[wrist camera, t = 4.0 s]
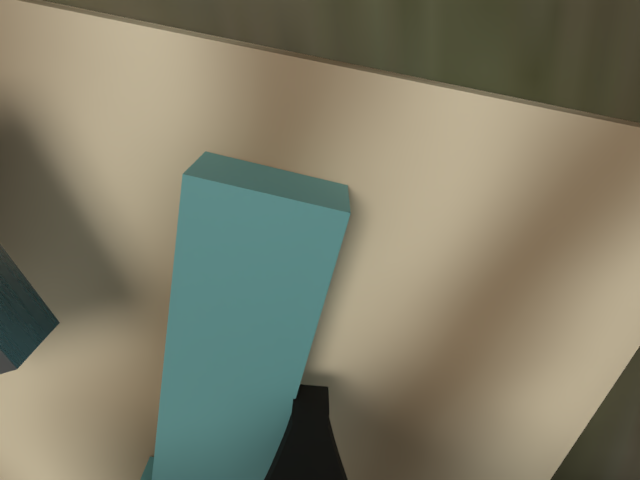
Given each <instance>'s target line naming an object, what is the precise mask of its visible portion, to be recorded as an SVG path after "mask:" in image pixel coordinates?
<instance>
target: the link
mask: <svg viewBox="0 0 640 480" xmlns="http://www.w3.org/2000/svg"><path fill="white" fill-rule="evenodd" d="M350 214H351V211H350V201H349V192H348V185H345V184H340V183H336V182H332V181H328V180H324V179H319V178H315V177H311V176H307V175H303V174H298V173H294V172H290V171H286V170H282V169H277V168H273V167H269V166H265V165H261V164H256V163H252V162H248V161H244V160H240V159H235V158H231V157H227V156H223V155H219V154H214V153H210V152H206V151H205V152H204V153H203V154H202V155H201V156H200V157H199V158H198V159H197V160H196V161H195V162H194V163H193V164H192V165H191V166H190V167H189V168H188V169H187V170H186V171H185V172H184V173H183V174H182V184H181V194H180V204H179V214H178V224H177V234H176V244H175V254H174V264H173V274H172V284H171V294H170V304H169V314H168V324H167V334H166V343H165V353H164V363H163V373H162V383H161V393H160V403H159V413H158V423H157V433H156V443H155V453H154V457H149V460H148V462H147V464H146V467H145V469H144V472H143V474H142V476H141V479H140V480H264V479H265V477H266V475H267V472H268V470H269V468H270V466H271V464H272V461H273V459H274V457H275V454H276V452H277V450H278V447H279V445H280V443H281V440H282V438H283V435H284V433H285V430H286V427H287V424H288V422H289V419H290V416H291V413H292V404H293V399H296V396H297V393H298V389H299V386H300V382H301V379H302V376H303V372H304V369H305V366H306V362H307V359H308V356H309V352H310V349H311V345H312V342H313V339H314V335H315V332H316V329H317V325H318V322H319V318H320V315H321V312H322V308H323V305H324V302H325V298H326V295H327V292H328V288H329V285H330V281H331V278H332V275H333V271H334V268H335V265H336V261H337V258H338V254H339V251H340V248H341V244H342V241H343V238H344V234H345V231H346V228H347V224H348V221H349V217H350Z"/></svg>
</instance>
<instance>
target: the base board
mask: <svg viewBox="0 0 640 480" xmlns="http://www.w3.org/2000/svg"><path fill="white" fill-rule="evenodd" d="M205 151H206V152H210V153H214V154H219V155H223V156H227V157H231V158H235V159H240V160H244V161H248V162H252V163H256V164H261V165H265V166H269V167H273V168H277V169H282V170H286V171H290V172H294V173H298V174H303V175H307V176H311V177H315V178H319V179H324V180H328V181H332V182H336V183H340V184H345V185H348V192H349V201H350V211H351V214H350V217H349V221H348V224H347V228H346V231H345V234H344V238H343V241H342V244H341V248H340V251H339V254H338V258H337V261H336V265H335V268H334V271H333V275H332V278H331V281H330V285H329V288H328V292H327V295H326V298H325V302H324V305H323V308H322V312H321V315H320V318H319V322H318V325H317V329H316V332H315V335H314V339H313V342H312V345H311V349H310V352H309V356H308V359H307V362H306V366H305V369H304V372H303V376H302V379H301V382H300V384H303V385H315V386H326V387H328V390H329V418H330V422H331V426H332V430H333V434H334V438H335V442H336V445H337V448H338V452H339V455H340V458H341V461H342V464H343V467H344V470H345V473H346V476H347V479H348V480H550V479H551V478H552V476H553V475H554V473H555V472H556V470H557V469H558V467H559V466H560V464H561V463H562V461H563V460H564V458H565V457H566V455H567V454H568V452H569V451H570V449H571V448H572V446H573V445H574V443H575V442H576V440H577V439H578V437H579V436H580V434H581V433H582V431H583V430H584V428H585V427H586V425H587V424H588V422H589V421H590V419H591V418H592V416H593V415H594V413H595V412H596V410H597V409H598V407H599V406H600V404H601V403H602V401H603V400H604V398H605V397H606V395H607V394H608V392H609V391H610V389H611V388H612V387H613V385H614V384H615V382H616V381H617V379H618V378H619V376H620V375H621V373H622V372H623V370H624V369H625V367H626V366H627V364H628V363H629V361H630V360H631V358H632V357H633V355H634V354H635V352H636V351H637V349H638V348H639V346H640V123H637V122H632V121H627V120H623V119H618V118H613V117H608V116H603V115H598V114H593V113H589V112H584V111H579V110H574V109H569V108H564V107H559V106H554V105H550V104H545V103H540V102H535V101H530V100H525V99H520V98H515V97H511V96H506V95H501V94H496V93H491V92H486V91H481V90H476V89H472V88H467V87H462V86H457V85H452V84H447V83H442V82H437V81H433V80H428V79H423V78H418V77H413V76H408V75H403V74H398V73H394V72H389V71H384V70H379V69H374V68H369V67H364V66H359V65H355V64H350V63H345V62H340V61H335V60H330V59H325V58H320V57H316V56H311V55H306V54H301V53H296V52H291V51H286V50H281V49H277V48H272V47H267V46H262V45H257V44H252V43H247V42H242V41H238V40H233V39H228V38H223V37H218V36H213V35H208V34H203V33H199V32H194V31H189V30H184V29H179V28H174V27H169V26H164V25H160V24H155V23H150V22H145V21H140V20H135V19H130V18H125V17H121V16H116V15H111V14H106V13H101V12H96V11H91V10H87V9H82V8H77V7H72V6H67V5H62V4H57V3H52V2H48V1H43V0H0V244H1V246H2V247H3V248H4V250H5V251H6V252H7V254H8V255H9V256H10V257H11V259H12V260H13V261H14V263H15V264H16V265H17V267H18V268H19V269H20V271H21V272H22V273H23V275H24V276H25V277H26V279H27V280H28V281H29V283H30V284H31V285H32V286H33V288H34V289H35V290H36V292H37V293H38V294H39V296H40V297H41V298H42V300H43V301H44V302H45V304H46V305H47V306H48V308H49V309H50V310H51V312H52V313H53V314H54V316H55V317H56V318H57V319H58V321H59V322H60V323H59V324H58V325H57V326H56V327H55V329H54V330H53V331H52V332H51V333H50V334H49V335H48V336H47V337H46V338H45V339H44V341H43V342H42V343H41V344H40V345H39V346H38V347H37V348H36V349H35V350H34V351H33V353H32V354H31V355H30V356H29V357H28V358H27V359H26V360H25V361H24V362H23V364H22V365H21V366H20V367H19V368H18V369H17V370H13V371H10V372H6V373H3V374H0V480H140V479H141V476H142V474H143V472H144V469H145V467H146V464H147V462H148V460H149V457H154V453H155V443H156V433H157V423H158V413H159V403H160V393H161V383H162V373H163V363H164V353H165V343H166V334H167V324H168V314H169V304H170V294H171V284H172V274H173V264H174V254H175V244H176V234H177V224H178V214H179V204H180V194H181V184H182V174H183V173H184V172H185V171H186V170H187V169H188V168H189V167H190V166H191V165H192V164H193V163H194V162H195V161H196V160H197V159H198V158H199V157H200V156H201V155H202V154H203V153H204V152H205Z"/></svg>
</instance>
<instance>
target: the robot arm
mask: <svg viewBox="0 0 640 480" xmlns="http://www.w3.org/2000/svg"><path fill="white" fill-rule="evenodd" d="M264 480H348V479H347V476H346V473H345V470H344V467H343V464H342V461H341V458H340V455H339V452H338V448H337V445H336V442H335V438H334V434H333V430H332V426H331V422H330V418H329V390H328V387H326V386H315V385H303V384H300V386H299V389H298V393H297V396H296V399H293V404H292V413H291V416H290V419H289V422H288V424H287V427H286V430H285V433H284V435H283V438H282V440H281V443H280V445H279V447H278V450H277V452H276V454H275V457H274V459H273V461H272V464H271V466H270V468H269V470H268V472H267V475H266V477H265V479H264Z"/></svg>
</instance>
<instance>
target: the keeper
mask: <svg viewBox="0 0 640 480" xmlns="http://www.w3.org/2000/svg"><path fill="white" fill-rule="evenodd" d="M59 323H60V322H59V321H58V319H57V318H56V317H55V316H54V314H53V313H52V312H51V310H50V309H49V308H48V306H47V305H46V304H45V302H44V301H43V300H42V298H41V297H40V296H39V294H38V293H37V292H36V290H35V289H34V288H33V286H32V285H31V284H30V283H29V281H28V280H27V279H26V277H25V276H24V275H23V273H22V272H21V271H20V269H19V268H18V267H17V265H16V264H15V263H14V261H13V260H12V259H11V257H10V256H9V255H8V254H7V252H6V251H5V250H4V248H3V247H2V246H1V244H0V374H3V373H6V372H10V371H13V370H17V369H18V368H19V367H20V366H21V365H22V364H23V362H24V361H25V360H26V359H27V358H28V357H29V356H30V355H31V354H32V353H33V351H34V350H35V349H36V348H37V347H38V346H39V345H40V344H41V343H42V342H43V341H44V339H45V338H46V337H47V336H48V335H49V334H50V333H51V332H52V331H53V330H54V329H55V327H56V326H57V325H58V324H59Z"/></svg>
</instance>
